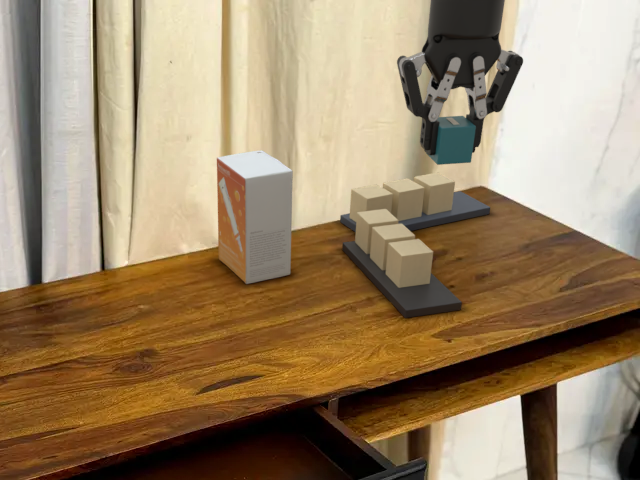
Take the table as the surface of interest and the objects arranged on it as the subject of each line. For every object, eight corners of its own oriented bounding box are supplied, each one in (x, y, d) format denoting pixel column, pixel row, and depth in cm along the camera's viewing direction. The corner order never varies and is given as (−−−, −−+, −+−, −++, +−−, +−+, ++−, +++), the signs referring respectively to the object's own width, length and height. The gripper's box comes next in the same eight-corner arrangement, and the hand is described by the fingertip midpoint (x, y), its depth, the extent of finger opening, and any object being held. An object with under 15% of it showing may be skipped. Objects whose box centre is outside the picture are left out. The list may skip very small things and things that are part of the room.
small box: (217, 260, 124) (215, 156, 116) (262, 251, 127) (263, 148, 119) (245, 285, 119) (244, 177, 111) (291, 275, 121) (294, 169, 113)
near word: (342, 249, 127) (344, 211, 124) (392, 243, 129) (395, 205, 126) (405, 318, 112) (409, 277, 109) (461, 310, 114) (466, 269, 111)
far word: (459, 197, 141) (463, 162, 138) (489, 214, 137) (495, 178, 133) (339, 222, 134) (341, 185, 131) (367, 240, 129) (370, 203, 126)
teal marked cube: (458, 151, 113) (463, 114, 111) (471, 162, 110) (476, 125, 108) (425, 153, 113) (429, 116, 110) (437, 165, 110) (441, 127, 107)
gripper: (414, -8, 97) (398, 167, 107) (550, -14, 99) (521, 159, 109) (392, -23, 102) (379, 145, 113) (520, -27, 105) (496, 137, 115)
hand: (449, 151), depth 111 cm, fingers closed on teal marked cube, 4 cm apart
